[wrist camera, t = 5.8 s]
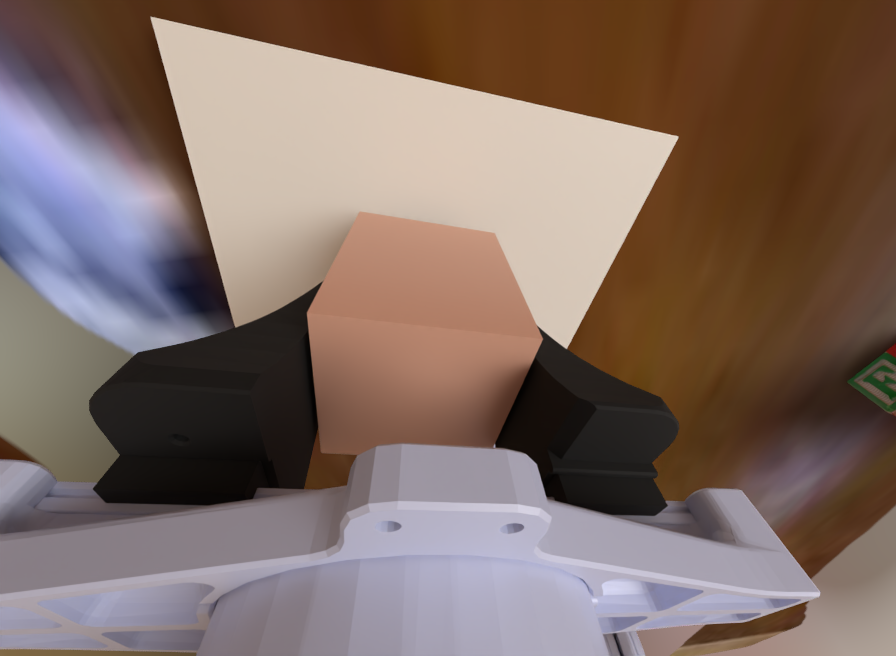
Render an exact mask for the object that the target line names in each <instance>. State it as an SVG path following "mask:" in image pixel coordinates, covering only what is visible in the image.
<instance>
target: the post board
mask: <svg viewBox="0 0 896 656" xmlns="http://www.w3.org/2000/svg"><path fill="white" fill-rule="evenodd" d="M151 20H152V24H153V28H154V31H155V35H156V39H157V42H158V46H159V50H160V53H161V57H162V61H163V64H164V68H165V72H166V75H167V79H168V83H169V86H170V90H171V94H172V97H173V101H174V105H175V108H176V112H177V116H178V119H179V123H180V127H181V130H182V134H183V138H184V141H185V145H186V149H187V152H188V156H189V160H190V163H191V167H192V171H193V174H194V178H195V182H196V185H197V189H198V193H199V196H200V200H201V204H202V207H203V211H204V215H205V218H206V222H207V226H208V230H209V233H210V237H211V241H212V244H213V248H214V252H215V255H216V259H217V263H218V266H219V270H220V274H221V277H222V281H223V285H224V288H225V292H226V296H227V299H228V303H229V307H230V310H231V314H232V318H233V321H234V325H235V328H236V327H238V326H241V325H244V324H246V323H249V322H252V321H254V320H257V319H259V318H261V317H263V316H265V315H268V314H270V313H272V312H274V311H276V310H278V309H280V308H282V307H283V306H285V305H287V304H288V303H290V302H292V301H293V300H295V299H297V298H299V297H300V296H302V295H303V294H305V293H306V292H308V291H309V290H311V289H312V288H314V287H315V286H317V285H318V284H319V283H321V282H322V281H324V279H325V277H326V275H327V273H328V271H329V269H330V267H331V266H332V264H333V262H334V260H335V258H336V256H337V254H338V252H339V250H340V248H341V246H342V244H343V242H344V241H345V239H346V237H347V235H348V233H349V231H350V229H351V227H352V225H353V223H354V221H355V219H356V217H357V216H358V214H359V212H360V211H361V212H367V213H373V214H379V215H386V216H392V217H398V218H404V219H411V220H417V221H423V222H429V223H436V224H442V225H448V226H454V227H461V228H467V229H473V230H479V231H486V232H492V233H495V235H496V237H497V239H498V241H499V244H500V246H501V248H502V250H503V252H504V255H505V257H506V259H507V261H508V263H509V266H510V268H511V270H512V272H513V274H514V277H515V279H516V281H517V283H518V285H519V287H520V290H521V292H522V294H523V296H524V298H525V301H526V303H527V305H528V307H529V309H530V312H531V314H532V316H533V318H534V320H535V323H536V325H537V326H538V327H540V328H541V329H542V330H543V331H544V332H545V333H547V334H548V335H549V336H550V337H551V338H553V339H554V340H555V341H556V342H558V343H559V344H560V345H562V346H563V347H565V348H566V349H567V347H568V345H569V344H570V342H571V340H572V338H573V336H574V334H575V332H576V330H577V328H578V327H579V325H580V323H581V321H582V319H583V317H584V315H585V313H586V311H587V310H588V308H589V306H590V304H591V302H592V300H593V298H594V296H595V294H596V292H597V291H598V289H599V287H600V285H601V283H602V281H603V279H604V277H605V275H606V274H607V272H608V270H609V268H610V266H611V264H612V262H613V260H614V258H615V257H616V255H617V253H618V251H619V249H620V247H621V245H622V243H623V241H624V240H625V238H626V236H627V234H628V232H629V230H630V228H631V226H632V224H633V223H634V221H635V219H636V217H637V215H638V213H639V211H640V209H641V207H642V206H643V204H644V202H645V200H646V198H647V196H648V194H649V192H650V190H651V189H652V187H653V185H654V183H655V181H656V179H657V177H658V175H659V173H660V172H661V170H662V168H663V166H664V164H665V162H666V160H667V158H668V156H669V154H670V153H671V151H672V149H673V147H674V145H675V143H676V141H677V139H678V136H673V135H669V134H664V133H660V132H656V131H651V130H647V129H642V128H638V127H634V126H629V125H625V124H620V123H616V122H612V121H607V120H603V119H598V118H594V117H590V116H585V115H581V114H576V113H572V112H568V111H563V110H559V109H554V108H550V107H546V106H541V105H537V104H532V103H528V102H524V101H519V100H515V99H510V98H506V97H502V96H497V95H493V94H488V93H484V92H480V91H475V90H471V89H466V88H462V87H458V86H453V85H449V84H444V83H440V82H436V81H431V80H427V79H422V78H418V77H414V76H409V75H405V74H400V73H396V72H392V71H387V70H383V69H378V68H374V67H370V66H365V65H361V64H356V63H352V62H348V61H343V60H339V59H334V58H330V57H326V56H321V55H317V54H312V53H308V52H304V51H299V50H295V49H290V48H286V47H282V46H277V45H273V44H268V43H264V42H260V41H255V40H251V39H246V38H242V37H238V36H233V35H229V34H224V33H220V32H216V31H211V30H207V29H202V28H198V27H194V26H189V25H185V24H180V23H176V22H172V21H167V20H163V19H158V18H154V17H151Z"/></svg>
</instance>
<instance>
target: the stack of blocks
mask: <svg viewBox="0 0 896 656" xmlns="http://www.w3.org/2000/svg"><path fill="white" fill-rule="evenodd" d="M847 383H849V384H850V385H851V386H853V387H854V388H855V389H857V390H858V391H859V392H861V393H862V394H863V395H865V396H866V397H867V398H869V399H870V400H871V401H873V402H874V403H875V404H877V405H878V406H879V407H881V408H882V409H883V410H884V411H886V412H888V413H889V414H893V415H894V416H896V344H894V345H893V346H892V347H891V348H889V349H888V350H887V351H886V352H885V353H883V354H882V355H881V356H880V357H878V358H877V359H876V360H874V361H873V362H872V363H870V364H869V365H868V366H866V367H865V368H864V369H863V370H861V371H860V372H859V373H857V374H856V375H855V376H854V377H852V378H851V379H850V380H848V381H847Z"/></svg>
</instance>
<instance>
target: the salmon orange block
mask: <svg viewBox="0 0 896 656" xmlns="http://www.w3.org/2000/svg"><path fill="white" fill-rule="evenodd" d="M307 319H308V329H309V339H310V349H311V358H312V368H313V378H314V388H315V398H316V408H317V418H318V427H319V437H320V447H321V453H332V454H352V455H359V454H361V453H363V452H365V451H367V450H369V449H371V448H373V447H375V446H377V445H381V444H391V443H419V444H438V445H456V446H474V447H492V448H493V447H494V444H495V442H496V440H497V438H498V436H499V434H500V431H501V429H502V427H503V425H504V423H505V421H506V418H507V416H508V414H509V412H510V410H511V408H512V405H513V403H514V401H515V399H516V397H517V394H518V392H519V390H520V388H521V386H522V384H523V381H524V379H525V377H526V375H527V373H528V371H529V368H530V366H531V364H532V362H533V360H534V358H535V355H536V353H537V351H538V349H539V347H540V345H541V342H542V340H543V338H542V336H541V334H540V331H539V329H538V327H537V325H536V323H535V320H534V318H533V316H532V314H531V312H530V309H529V307H528V305H527V303H526V301H525V298H524V296H523V294H522V292H521V290H520V287H519V285H518V283H517V281H516V279H515V277H514V274H513V272H512V270H511V268H510V266H509V263H508V261H507V259H506V257H505V255H504V252H503V250H502V248H501V246H500V244H499V241H498V239H497V237H496V235H495V233H492V232H486V231H479V230H473V229H467V228H461V227H454V226H448V225H442V224H436V223H429V222H423V221H417V220H411V219H404V218H398V217H392V216H386V215H379V214H373V213H367V212H361V211H360V212H359V214H358V216H357V217H356V219H355V221H354V223H353V225H352V227H351V229H350V231H349V233H348V235H347V237H346V239H345V241H344V242H343V244H342V246H341V248H340V250H339V252H338V254H337V256H336V258H335V260H334V262H333V264H332V266H331V267H330V269H329V271H328V273H327V275H326V277H325V279H324V281H323V283H322V285H321V287H320V289H319V291H318V292H317V294H316V296H315V298H314V300H313V302H312V304H311V306H310V308H309V310H308V312H307Z"/></svg>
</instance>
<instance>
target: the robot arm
mask: <svg viewBox="0 0 896 656" xmlns="http://www.w3.org/2000/svg"><path fill="white" fill-rule="evenodd" d="M322 283H323V281H322V282H321V283H319V284H318V285H317V286H315V287H314V288H312V289H311V290H309V291H308V292H306V293H305V294H303V295H302V296H300V297H299V298H297V299H295V300H293V301H292V302H290V303H288V304H287V305H285V306H283V307H282V308H280V309H278V310H276V311H274V312H272V313H270V314H268V315H265V316H263V317H261V318H259V319H257V320H254V321H252V322H249V323H246V324H244V325H241V326H238V327H236V328H233V329H230V330H227V331H224V332H221V333H218V334H215V335H211V336H208V337H204V338H201V339H197V340H193V341H189V342H185V343H181V344H176V345H172V346H167V347H162V348H158V349H153V350H148V351H143V352H138V353H137V354H136V355H134V356H133V357H132V358H131V359H130V360H129V361H128V362H127V363H126V364H125V365H124V366H123V367H122V368H120V369H119V370H118V371H117V372H116V373H115V374H114V375H113V376H112V377H111V378H110V379H109V380H108V381H107V382H105V384H103V385H102V386H101V387H100V388H99V389H98V390H97V391H96V392H95V393H94V394H93V396H92V397H91V399H90V400H89V411H90V413H91V415H92V417H93V419H94V421H95V423H96V424H97V426H98V427H99V428H100V430H101V431H102V432H103V433H104V435H105V436H106V437H107V439H108V440H109V441H110V443H111V444H112V445H113V446H114V448H115V449H116V450H117V451H118V453H119V454H120V456H119V457H118V459H117V460H116V461H115V462H114V463H113V465H112V466H111V467H110V468H109V470H108V471H107V472H106V473H105V474H104V476H103V477H102V478H101V479H100V480H99V482H98V483H89V482H88V483H87V482H57V480H56V478H55V476H54V475H53V474H52V473H51V472H50V471H49V470H48V469H47V468H45V467H44V466H42V465H39V464H36V463H33V462H29V461H22V460H0V649H64V650H65V649H66V650H113V651H116V650H117V651H159V652H197V654H196V656H645V653H644V651H643V648H642V645H641V643H640V640H639V638H638V635H637V633H636V631H638V630H648V629H657V628H666V627H667V628H668V627H677V626H688V625H701V624H702V625H703V624H718V623H739V622H746V621H749V620H752V619H755V618H758V617H761V616H764V615H767V614H770V613H773V612H776V611H779V610H782V609H785V608H788V607H791V606H794V605H797V604H800V603H803V602H806V601H809V600H812V599H815V598H818V597H820V591H819V590H818V589H817V587H816V586H815V585H814V584H813V582H812V581H811V579H810V578H809V577H808V576H807V574H806V573H805V572H804V570H803V569H802V568H801V567H800V565H799V564H798V563H797V561H796V560H795V559H794V557H793V556H792V555H791V554H790V552H789V551H788V550H787V548H786V547H785V546H784V545H783V543H782V542H781V541H780V539H779V538H778V537H777V536H776V534H775V533H774V532H773V530H772V529H771V528H770V526H769V525H768V524H767V523H766V521H765V520H764V519H763V517H762V516H761V515H760V514H759V512H758V511H757V510H756V508H755V507H754V506H753V504H752V503H751V502H750V501H749V499H748V498H747V497H746V495H745V494H744V493H743V492H742V490H739V489H729V488H703V489H700V490H697V491H695V492H694V493H692V494H691V495H690V496H689V497H688V498H686V500H685V501H665V499H664V498H663V496H662V494H661V492H660V491H659V489H658V487H657V485H656V484H655V482H654V480H653V478H656V477H657V476H658V473H657V471H656V469H655V468H654V466H653V464H652V462H653V461H654V460H655V459H656V458H657V457H658V456H659V455H660V454H661V453H662V452H663V451H664V450H665V449H666V448H667V447H668V446H669V445H670V444H671V443H672V442H673V441H674V439H675V438H676V435H677V433H678V430H679V423H678V421H677V419H676V418H675V417H674V415H673V414H672V412H671V411H670V410H669V408H668V407H667V405H666V404H665V403H664V401H663V400H662V399H661V398H660V397H658V396H656V395H653V394H651V393H649V392H646V391H644V390H641V389H639V388H637V387H634V386H632V385H629V384H627V383H625V382H623V381H621V380H619V379H617V378H615V377H613V376H611V375H609V374H607V373H605V372H603V371H601V370H599V369H598V368H596V367H594V366H592V365H591V364H589V363H587V362H586V361H584V360H582V359H581V358H579V357H578V356H576V355H575V354H573V353H572V352H570V351H569V350H567V349H566V348H565V347H563V346H562V345H560V344H559V343H558V342H556V341H555V340H554V339H553V338H551V337H550V336H549V335H548V334H547V333H545V332H544V331H543V330H542V329H541V328H540V327H538V326H537V327H538V329H539V331H540V334H541V336H542V338H543V340H542V342H541V345H540V347H539V349H538V351H537V353H536V355H535V358H534V360H533V362H532V364H531V366H530V368H529V371H528V373H527V375H526V377H525V379H524V381H523V384H522V386H521V388H520V390H519V392H518V394H517V397H516V399H515V401H514V403H513V405H512V408H511V410H510V412H509V414H508V416H507V418H506V421H505V423H504V425H503V427H502V429H501V431H500V434H499V436H498V438H497V440H496V442H495V444H494V447H493V448H492V447H474V446H456V445H438V444H419V443H391V444H381V445H377V446H375V447H373V448H371V449H369V450H367V451H365V452H363V453H361V454H359V455H358V456H357V457H356V459H355V461H354V463H353V465H352V467H351V469H350V474H349V479H348V484H347V486H342V487H335V488H328V489H321V490H309V489H304V486H305V481H306V477H307V472H308V468H309V464H310V459H311V455H312V450H313V446H314V442H315V438H316V434H317V430H318V418H317V408H316V398H315V388H314V378H313V368H312V358H311V349H310V339H309V329H308V319H307V312H308V310H309V308H310V306H311V304H312V302H313V300H314V298H315V296H316V294H317V292H318V291H319V289H320V287H321V285H322Z"/></svg>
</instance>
